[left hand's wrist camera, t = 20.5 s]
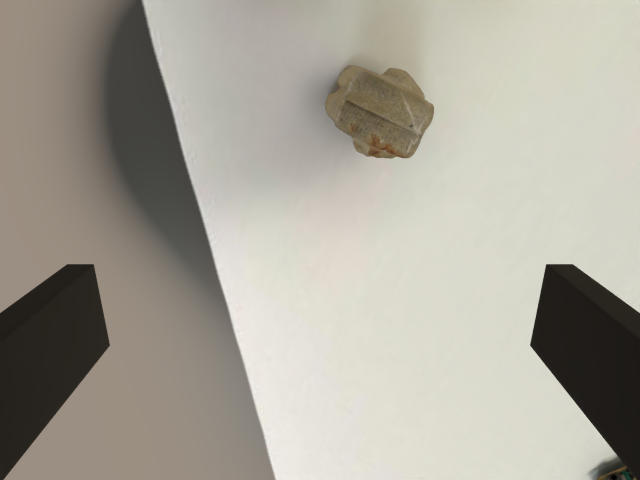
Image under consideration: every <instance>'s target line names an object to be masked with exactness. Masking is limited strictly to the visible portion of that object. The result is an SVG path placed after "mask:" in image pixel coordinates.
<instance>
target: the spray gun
mask: <svg viewBox="0 0 640 480" xmlns="http://www.w3.org/2000/svg"><path fill="white" fill-rule="evenodd" d="M627 469H628V468H627V467H626V466H624V467H622V468H619V469H617V470H615V471H612V472H610V473H608V474H605V475H603V476H601V477H599V478H598V479H597V480H604V479H606V478H608V479H609V480H636V478H635V477H634V476H633V474H632V473H631V472H627V471H625V470H627ZM620 472H622V475H621V474H620Z"/></svg>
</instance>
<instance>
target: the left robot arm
mask: <svg viewBox="0 0 640 480" xmlns="http://www.w3.org/2000/svg"><path fill="white" fill-rule="evenodd" d="M109 346H110V344H109V339H108V334H107V329H106V324H105V319H104V314H103V309H102V304H101V299H100V294H99V289H98V284H97V279H96V273H95V269H94V265H93V264H67V265H66V266H64V267H63V268H62V269H60V270H59V271H58V272H56V273H55V274H53V275H52V276H51V277H49V278H48V279H47V280H45V281H44V282H43V283H41V284H40V285H38V286H37V287H36V288H34V289H33V290H31V291H30V292H29V293H27V294H26V295H25V296H23V297H22V298H20V299H19V300H18V301H16V302H15V303H14V304H12V305H11V306H9V307H8V308H7V309H5V310H4V311H3V312H1V313H0V480H4V478H5V477H6V476H7V474H8V473H9V472H10V471H11V469H12V468H13V467H14V466H15V464H16V463H17V462H18V461H19V459H20V458H21V457H22V456H23V454H24V453H25V452H26V451H27V449H28V448H29V447H30V445H31V444H32V443H33V442H34V440H35V439H36V438H37V437H38V435H39V434H40V433H41V432H42V430H43V429H44V428H45V427H46V425H47V424H48V423H49V421H50V420H51V419H52V418H53V416H54V415H55V414H56V413H57V411H58V410H59V409H60V408H61V406H62V405H63V404H64V403H65V401H66V400H67V399H68V397H69V396H70V395H71V394H72V393H73V391H74V390H75V389H76V387H77V386H78V385H79V384H80V382H81V381H82V380H83V379H84V377H85V376H86V375H87V374H88V372H89V371H90V370H91V368H92V367H93V366H94V365H95V363H96V362H97V361H98V360H99V358H100V357H101V356H102V355H103V353H104V352H105V351H106V350H107V348H108V347H109ZM530 346H531V347H532V348H533V350H534V351H535V352H536V353H537V355H538V356H539V357H540V358H541V360H542V361H543V362H544V364H545V365H546V366H547V367H548V369H549V370H550V371H551V372H552V374H553V375H554V376H555V377H556V379H557V380H558V381H559V382H560V384H561V385H562V386H563V387H564V389H565V390H566V391H567V393H568V394H569V395H570V396H571V398H572V399H573V400H574V401H575V403H576V404H577V405H578V406H579V408H580V409H581V410H582V411H583V413H584V414H585V415H586V416H587V418H588V419H589V420H590V422H591V423H592V424H593V425H594V427H595V428H596V429H597V430H598V432H599V433H600V434H601V435H602V437H603V438H604V439H605V440H606V442H607V443H608V444H609V445H610V447H611V448H612V449H613V451H614V452H615V453H616V454H617V456H618V457H619V458H620V459H621V461H622V462H623V463H624V464H625V466H626V467H627V468H628V469H629V471H630V472H631V473H632V474H633V476H634V477H635V478H636V480H640V313H639V312H637V311H636V310H635V309H633V308H632V307H631V306H629V305H628V304H626V303H625V302H624V301H622V300H621V299H620V298H618V297H617V296H615V295H614V294H613V293H611V292H610V291H609V290H607V289H606V288H604V287H603V286H602V285H600V284H599V283H598V282H596V281H595V280H593V279H592V278H591V277H589V276H588V275H587V274H585V273H584V272H582V271H581V270H580V269H578V268H577V267H576V266H574V265H573V264H546V268H545V273H544V278H543V284H542V289H541V294H540V299H539V304H538V309H537V314H536V319H535V324H534V329H533V334H532V339H531V344H530Z"/></svg>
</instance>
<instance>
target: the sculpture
mask: <svg viewBox="0 0 640 480" xmlns="http://www.w3.org/2000/svg"><path fill="white" fill-rule="evenodd" d="M337 84H338V86H339V89H338V90H337V91H336V92H334V93H330V94H329V96H328V98H327V100H326V103H325V108H326V112H327V114H328V115H329V116H330V117H331V118H332V119H333V120H334V121H335V125H336V126H337V127H338V128H339V129H340V130H342V131H343V132H345V133H346V134H348V135H350V136H351V137H352V138H353V142H354V146H355V149H356V151H357V152H359V153H362V154H364V155H366V156H373V157H376V158H394V157H396V156H397V157H401V158H410V157H411V156H412V155H413V154H414V153H415V151H416V149H417V147H418V145H419V143H420V140H421V138H422V136H423V134H424V132H425V130H426V129H427V128H428V126H429V125H430V123H431V121H432V119H433V114H434V107H433V104H431V103H429V102H428V101H426V100H425V99H424V94H423V92H422V91H421V89H420V88H419V86H418V85H417V84H416V82H415V81H414V80H413V78H412V77H411V76H410V75H409V74H408V73H407V72H405V71H403V70H400V69H394V68H389V69H388V70H387V71H386V72H385V73H384V74H383V75H379V74H376V73H373V72H371V71H368V70H366V69H363V68H360V67H356V66H348V67H347V68H345V69H344V70H343V72H342V73H341V74H340V76H339V77H338V81H337Z"/></svg>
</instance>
